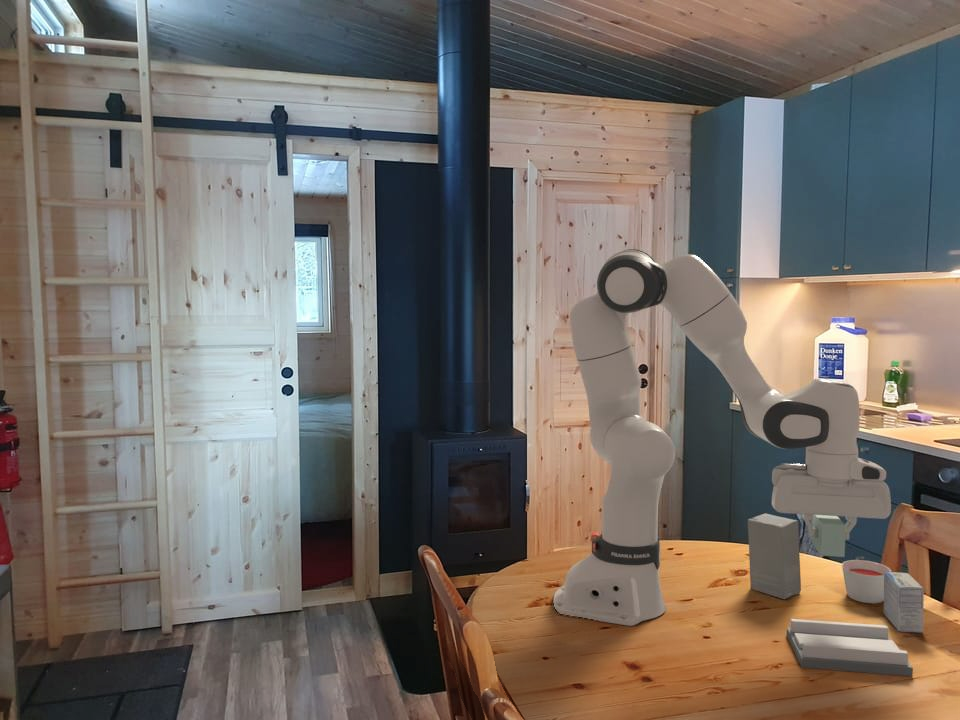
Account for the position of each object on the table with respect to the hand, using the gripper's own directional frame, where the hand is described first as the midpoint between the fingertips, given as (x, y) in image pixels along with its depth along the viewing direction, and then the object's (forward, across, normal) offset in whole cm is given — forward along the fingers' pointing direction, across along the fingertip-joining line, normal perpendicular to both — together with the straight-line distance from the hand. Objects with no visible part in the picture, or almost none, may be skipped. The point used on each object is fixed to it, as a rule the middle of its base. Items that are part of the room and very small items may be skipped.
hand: (828, 537), depth 137 cm
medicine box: (+17, +14, +3) cm, 22 cm away
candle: (+17, +12, +15) cm, 25 cm away
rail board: (+17, 0, -12) cm, 21 cm away
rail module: (+2, 0, 0) cm, 2 cm away
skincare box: (+17, -6, +15) cm, 24 cm away
